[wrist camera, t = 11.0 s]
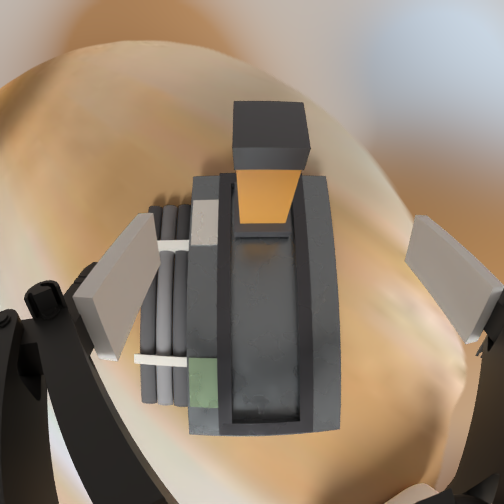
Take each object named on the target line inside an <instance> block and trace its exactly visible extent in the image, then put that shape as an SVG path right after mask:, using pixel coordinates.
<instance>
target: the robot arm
mask: <svg viewBox="0 0 504 504" xmlns="http://www.w3.org/2000/svg"><path fill="white" fill-rule="evenodd" d="M405 262H406V263H407V265H408V266H409V267H410V268H411V270H412V271H413V272H414V273H415V275H416V276H417V277H418V279H419V280H420V281H421V282H422V284H423V285H424V286H425V288H426V289H427V290H428V292H429V293H430V294H431V296H432V297H433V298H434V300H435V301H436V302H437V304H438V305H439V307H440V308H441V309H442V311H443V312H444V314H445V315H446V316H447V318H448V319H449V321H450V322H451V324H452V325H453V326H454V328H455V329H456V331H457V332H458V334H459V335H460V337H461V338H462V340H463V341H464V343H465V344H467V343H471V342H476V341H478V339H479V337H480V335H481V333H482V331H483V330H484V331H485V332H486V333H487V336H486V338H485V340H484V341H483V343H482V345H481V346H480V348H479V350H478V351H477V354H476V356H478V355H479V353H481V352H483V353H482V356H481V358H482V363H481V371H480V378H479V385H478V391H477V397H476V402H475V407H474V412H473V417H472V422H471V425H470V430H469V433H468V437H467V441H466V445H465V448H464V451H463V455H462V458H461V461H460V464H459V467H458V470H457V473H456V475H455V477H454V479H453V480H452V482H451V483H450V484H449V485H448V486H447V488H446V489H445V490H444V491H443V492H441V493H438V494H436V495H433V496H431V497H428V498H426V499H423V500H421V501H418V502H416V503H414V504H504V285H503V284H502V283H501V282H500V281H499V280H498V279H497V278H496V277H495V276H494V275H493V274H492V273H491V272H490V271H489V270H488V269H487V268H486V267H485V266H484V265H483V264H482V263H481V262H480V261H478V259H477V258H475V257H474V256H473V255H472V254H471V253H470V252H469V251H468V250H467V249H466V248H465V247H463V246H462V245H461V244H460V243H458V241H457V240H455V239H454V238H453V237H452V236H451V235H450V234H448V233H447V232H446V231H445V230H444V229H443V228H441V227H440V226H439V225H438V224H437V223H435V222H434V221H433V220H432V219H430V218H429V217H428V216H424V215H423V216H422V215H415V220H414V225H413V229H412V233H411V238H410V242H409V246H408V250H407V254H406V258H405ZM160 264H161V261H160V255H159V249H158V243H157V236H156V230H155V223H154V215H153V213H138V215H137V216H136V217H135V218H134V219H133V220H132V221H131V223H130V224H129V225H128V226H127V227H126V228H125V230H124V231H123V232H122V233H121V234H120V236H119V237H118V238H117V239H116V240H115V242H114V243H113V244H112V245H111V246H110V248H109V249H108V250H107V251H106V253H105V254H104V255H103V256H102V258H101V259H100V260H99V262H93V263H92V264H90V265H89V266H87V267H86V268H84V270H83V271H82V272H81V273H80V275H79V276H78V278H76V280H75V281H74V284H72V285H71V286H70V288H69V289H68V290H67V292H66V293H65V294H64V296H63V294H62V292H61V289H60V286H59V284H58V283H57V282H55V281H53V280H49V281H43V282H40V283H38V284H36V285H34V286H33V287H31V288H30V289H29V290H28V291H27V293H26V294H25V297H24V300H25V303H26V305H27V307H28V309H29V311H30V313H31V315H32V317H33V319H26V320H21V319H20V318H19V316H18V313H17V312H16V311H15V310H13V309H7V310H4V311H1V312H0V504H59V502H58V497H57V492H56V487H55V481H54V475H53V468H52V461H51V452H50V443H49V430H48V410H47V388H48V392H49V396H50V399H51V403H52V406H53V409H54V413H55V416H56V419H57V422H58V425H59V428H60V430H61V433H62V436H63V439H64V441H65V444H66V446H67V449H68V452H69V454H70V456H71V459H72V461H73V463H74V466H75V468H76V470H77V472H78V475H79V477H80V479H81V481H82V483H83V485H84V487H85V489H86V491H87V493H88V495H89V497H90V499H91V501H92V502H93V504H179V503H178V502H177V501H176V499H175V498H174V497H173V496H172V494H171V493H170V492H169V491H168V489H167V488H166V487H165V485H164V484H163V483H162V481H161V480H160V478H159V477H158V476H157V474H156V473H155V471H154V470H153V469H152V467H151V466H150V464H149V463H148V461H147V460H146V458H145V457H144V455H143V454H142V452H141V451H140V449H139V447H138V446H137V444H136V443H135V441H134V439H133V438H132V436H131V434H130V433H129V431H128V429H127V428H126V426H125V424H124V422H123V421H122V419H121V417H120V415H119V414H118V412H117V410H116V408H115V406H114V404H113V402H112V400H111V398H110V397H109V395H108V393H107V391H106V389H105V386H104V384H103V382H102V380H101V378H100V376H99V374H98V372H97V370H96V367H95V365H94V363H93V361H92V359H91V357H90V354H91V352H92V350H93V348H94V349H95V351H96V353H97V355H98V357H99V359H105V360H112V361H118V360H119V357H120V355H121V352H122V350H123V347H124V345H125V342H126V340H127V338H128V335H129V333H130V330H131V328H132V326H133V323H134V321H135V319H136V316H137V314H138V312H139V309H140V307H141V305H142V303H143V300H144V298H145V296H146V294H147V292H148V289H149V287H150V285H151V283H152V281H153V279H154V276H155V274H156V272H157V270H158V268H159V266H160Z"/></svg>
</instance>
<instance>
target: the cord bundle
mask: <svg viewBox="0 0 504 504" xmlns="http://www.w3.org/2000/svg"><path fill="white" fill-rule="evenodd" d="M177 212H178V219H177ZM148 213H153V215H154V223H155V230H156V236H157V243H158V249H159V255H160V261H161V264H160V266H159V268H158V270H157V272H156V274H155V276H154V279H153V281H152V283H151V285H150V287H149V289H148V292H147V294H146V296H145V298H144V300H143V303H142V305H141V324H140V353H139V354H134V363H137V364H140V367H141V396H142V402H143V403H149V404H153V403H157V400H158V404H160V405H173V389H174V405H175V406H179V407H187V406H188V393H187V278H188V252H189V232H190V216H191V205H186V204H184V205H180V206H179V207H178V208H177V207H176V206H173V205H166V206H164V207H163V208H162V207H159V206H150V207H149V211H148ZM162 214H163V217H162ZM161 224H162V227H161ZM176 225H177V232H176ZM160 235H161V239H160ZM175 239H176V240H175ZM174 255H175V266H174ZM173 275H174V290H173ZM157 279H158V286H157ZM156 303H157V315H156ZM172 305H173V355H172ZM172 366H173V375H172ZM156 371H157V383H156Z"/></svg>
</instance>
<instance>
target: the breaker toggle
mask: <svg viewBox="0 0 504 504" xmlns="http://www.w3.org/2000/svg"><path fill="white" fill-rule="evenodd" d="M232 149H233V161H234V170H236V174H237V182H235V199H234V234H235V237H290V234H291V232H292V231H291V215H290V206H291V203H292V200H293V197H294V193H295V190H296V187H297V183H298V180H299V177H300V174H301V170H304V169H305V165H306V162H307V159H308V156H309V152H310V149H311V148H310V141H309V134H308V128H307V122H306V115H305V110H304V104H303V103H302V102H280V101H234V109H233V145H232Z"/></svg>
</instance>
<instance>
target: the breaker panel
mask: <svg viewBox="0 0 504 504" xmlns="http://www.w3.org/2000/svg"><path fill="white" fill-rule="evenodd" d="M235 182H237V174H236V173H220V176H196V177H193V188H192V201H191V216H190V232H189V252H188V278H187V393H188V417H189V434H194V435H211V436H272V435H289V434H302V433H312V432H321V431H329V430H337V429H340V408H341V350H340V320H339V300H338V285H337V271H336V259H335V248H334V238H333V229H332V220H331V211H330V203H329V195H328V188H327V181H326V176H302V173H301V174H300V177H299V180H298V183H297V187H296V190H295V193H294V197H293V200H292V203H291V206H290V215H291V231H292V232H291V234H290V237H235V234H234V199H235Z"/></svg>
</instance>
